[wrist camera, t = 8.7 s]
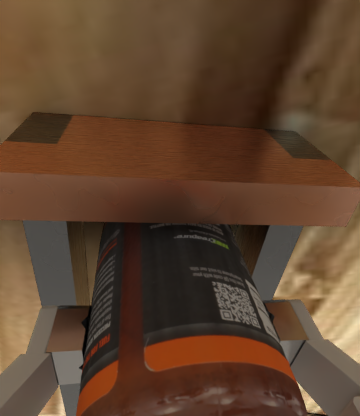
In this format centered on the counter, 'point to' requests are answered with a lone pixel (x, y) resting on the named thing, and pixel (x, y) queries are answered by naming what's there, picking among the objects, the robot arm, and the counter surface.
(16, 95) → the counter surface
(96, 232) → the counter surface
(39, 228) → the guide channel
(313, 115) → the counter surface
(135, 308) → the supplement bottle
